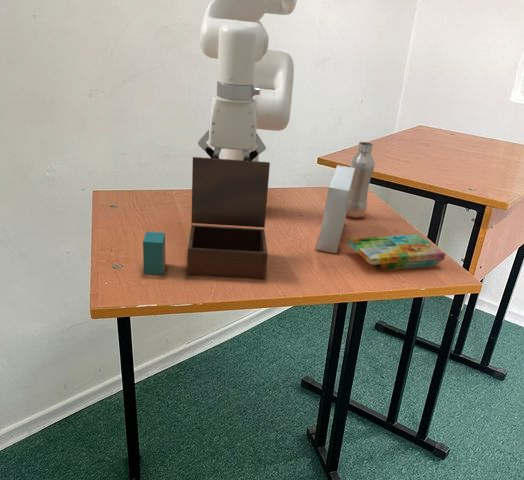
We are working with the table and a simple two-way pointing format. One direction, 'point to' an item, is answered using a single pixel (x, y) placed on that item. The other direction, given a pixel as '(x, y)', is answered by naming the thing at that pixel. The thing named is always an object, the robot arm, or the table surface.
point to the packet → (154, 253)
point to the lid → (229, 192)
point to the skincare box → (336, 209)
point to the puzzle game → (397, 251)
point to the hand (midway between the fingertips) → (230, 178)
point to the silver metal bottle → (360, 179)
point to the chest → (227, 252)
